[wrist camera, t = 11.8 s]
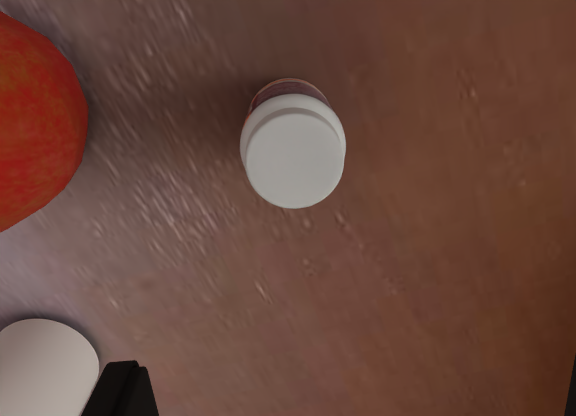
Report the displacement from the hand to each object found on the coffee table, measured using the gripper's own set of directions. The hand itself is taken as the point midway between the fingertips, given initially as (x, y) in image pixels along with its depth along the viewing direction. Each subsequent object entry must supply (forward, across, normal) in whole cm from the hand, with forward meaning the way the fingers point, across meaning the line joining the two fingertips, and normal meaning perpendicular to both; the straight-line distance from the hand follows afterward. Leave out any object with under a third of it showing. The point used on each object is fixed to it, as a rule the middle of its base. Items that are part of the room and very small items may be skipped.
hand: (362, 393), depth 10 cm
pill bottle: (+19, +1, -2) cm, 19 cm away
